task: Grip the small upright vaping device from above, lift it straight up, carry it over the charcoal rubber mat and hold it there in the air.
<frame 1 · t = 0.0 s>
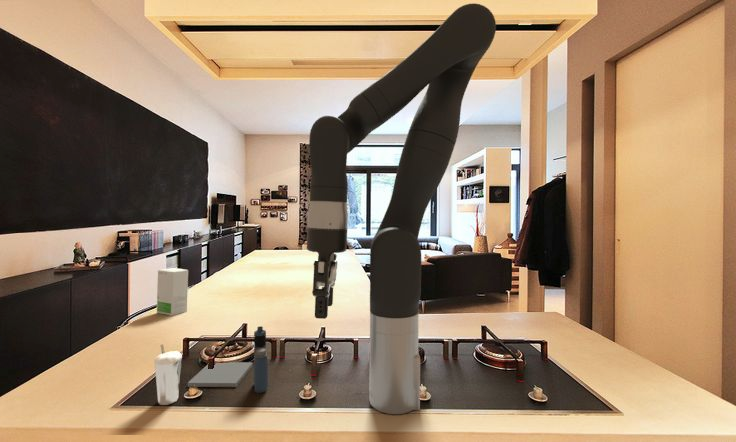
hand: (324, 311, 65), 17 cm above the kitchen island counter, tool pointing down, fingers open, 8 cm apart
milkshake: (167, 401, 66), on the kitchen island counter
skincare box: (172, 312, 125), on the kitchen island counter
vaping device: (260, 388, 71), on the kitchen island counter
charcoal mat: (222, 375, 76), on the kitchen island counter
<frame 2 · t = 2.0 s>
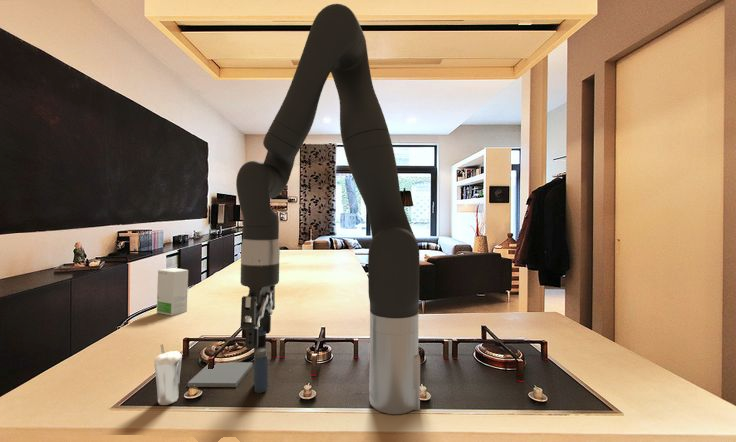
hand: (258, 339, 71), 10 cm above the kitchen island counter, tool pointing down, fingers open, 8 cm apart
nothing on the kitchen island counter moved.
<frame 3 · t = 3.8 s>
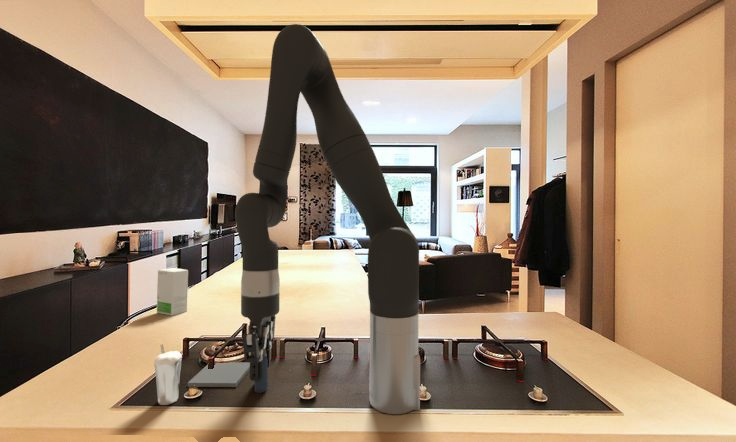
hand: (260, 373, 71), 3 cm above the kitchen island counter, tool pointing down, fingers closed on vaping device, 5 cm apart
vaping device: (260, 388, 71), on the kitchen island counter, touching gripper
everything else where it was.
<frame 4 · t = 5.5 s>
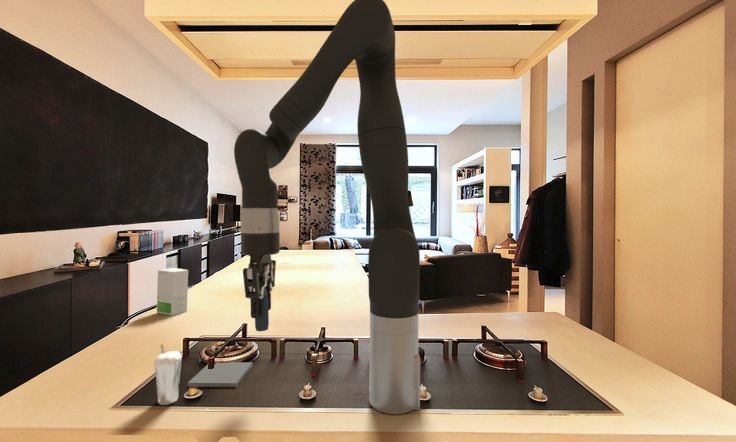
hand: (261, 313, 71), 15 cm above the kitchen island counter, tool pointing down, fingers closed on vaping device, 5 cm apart
vaping device: (261, 328, 71), point 12 cm above the kitchen island counter, touching gripper
everything else where it was.
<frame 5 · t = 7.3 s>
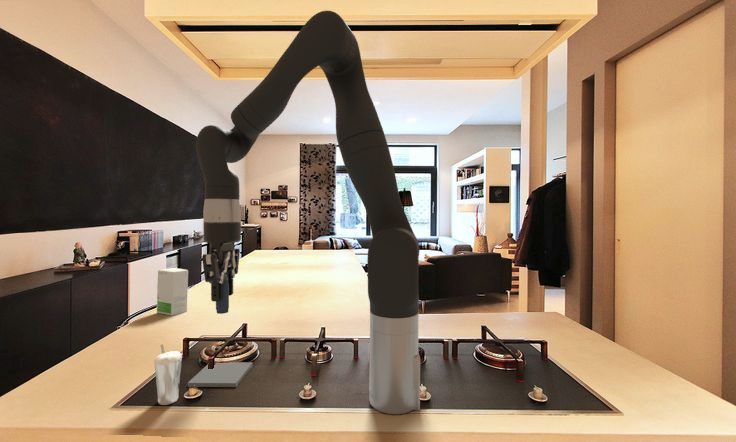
hand: (222, 297, 76), 17 cm above the kitchen island counter, tool pointing down, fingers closed on vaping device, 5 cm apart
vaping device: (222, 311, 76), point 14 cm above the kitchen island counter, touching gripper
everything else where it was.
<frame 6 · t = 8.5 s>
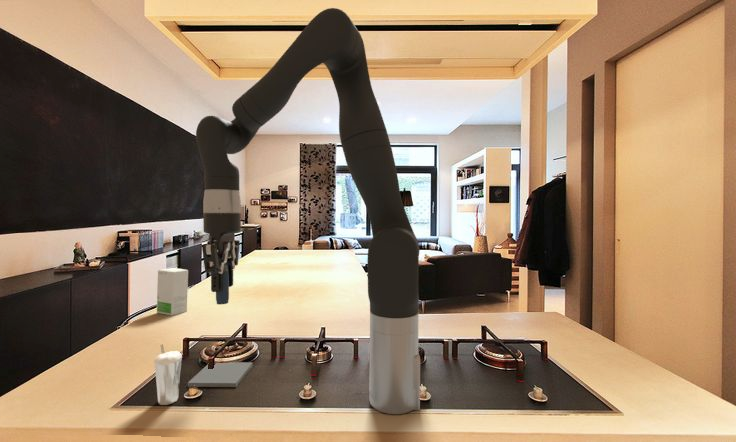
hand: (222, 288, 76), 19 cm above the kitchen island counter, tool pointing down, fingers closed on vaping device, 5 cm apart
vaping device: (222, 302, 76), point 16 cm above the kitchen island counter, touching gripper
everything else where it was.
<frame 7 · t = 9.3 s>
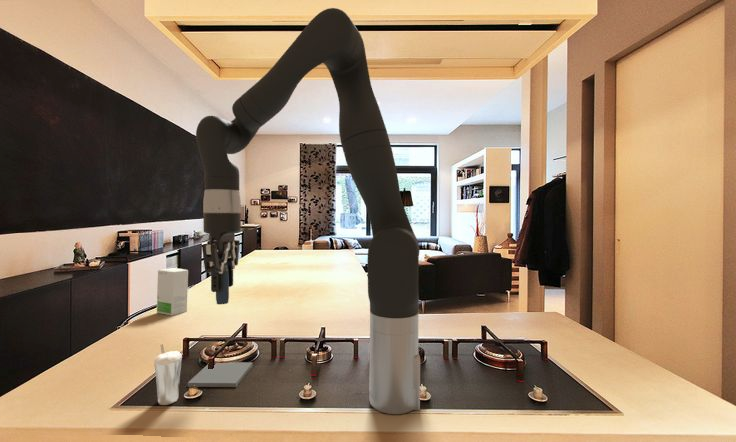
hand: (222, 288, 76), 19 cm above the kitchen island counter, tool pointing down, fingers closed on vaping device, 5 cm apart
vaping device: (222, 302, 76), point 16 cm above the kitchen island counter, touching gripper
everything else where it was.
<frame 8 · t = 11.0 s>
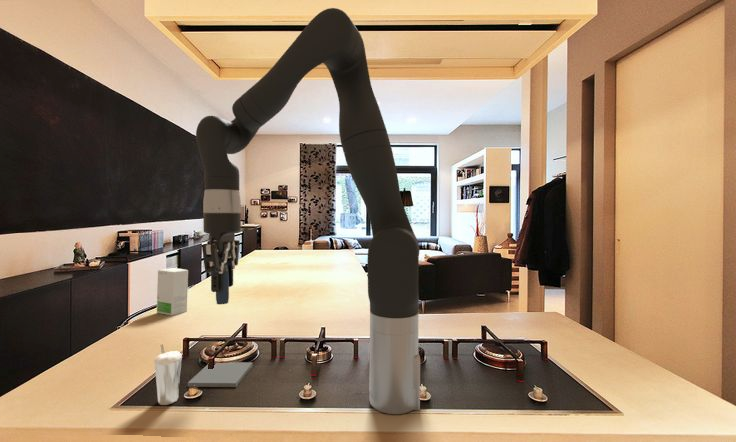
hand: (222, 288, 76), 19 cm above the kitchen island counter, tool pointing down, fingers closed on vaping device, 5 cm apart
vaping device: (222, 302, 76), point 16 cm above the kitchen island counter, touching gripper
everything else where it was.
at the end: the gripper is holding vaping device; vaping device point 16.1 cm above the kitchen island counter; vaping device 0.2 cm from the charcoal mat (horizontally) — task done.
